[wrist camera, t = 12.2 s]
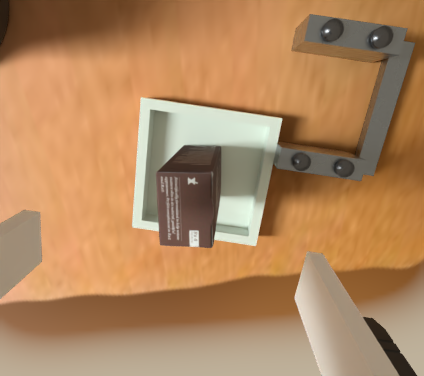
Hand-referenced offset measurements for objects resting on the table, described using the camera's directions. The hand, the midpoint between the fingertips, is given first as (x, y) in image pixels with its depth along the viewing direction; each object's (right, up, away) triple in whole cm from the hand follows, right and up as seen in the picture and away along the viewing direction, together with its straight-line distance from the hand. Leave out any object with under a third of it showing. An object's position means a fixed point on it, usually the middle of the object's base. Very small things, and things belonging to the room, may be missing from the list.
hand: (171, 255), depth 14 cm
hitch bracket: (+15, +12, +16) cm, 25 cm away
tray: (+1, +5, +19) cm, 20 cm away
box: (+1, +5, +18) cm, 19 cm away
